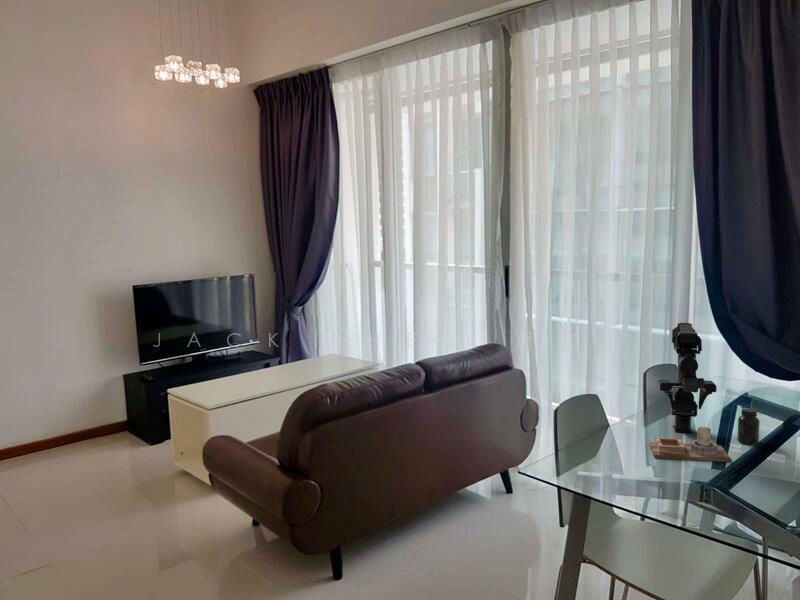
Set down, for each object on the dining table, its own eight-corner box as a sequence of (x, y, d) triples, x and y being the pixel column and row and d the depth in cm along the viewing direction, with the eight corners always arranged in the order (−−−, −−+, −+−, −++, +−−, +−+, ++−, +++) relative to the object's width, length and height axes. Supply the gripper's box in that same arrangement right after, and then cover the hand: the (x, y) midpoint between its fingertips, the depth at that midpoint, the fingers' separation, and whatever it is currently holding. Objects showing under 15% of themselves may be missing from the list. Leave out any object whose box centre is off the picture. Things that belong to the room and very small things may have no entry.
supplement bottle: (761, 445, 220) (763, 413, 218) (740, 445, 221) (742, 412, 220) (754, 438, 227) (756, 407, 225) (734, 438, 228) (735, 406, 226)
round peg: (696, 448, 217) (696, 426, 216) (708, 448, 216) (709, 426, 215) (698, 452, 213) (699, 430, 212) (711, 453, 212) (712, 431, 211)
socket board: (648, 445, 225) (649, 435, 224) (720, 448, 219) (721, 438, 218) (654, 458, 213) (654, 447, 212) (730, 461, 207) (730, 451, 207)
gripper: (663, 372, 216) (662, 414, 218) (721, 373, 211) (720, 416, 214) (657, 364, 227) (657, 405, 229) (713, 365, 222) (711, 406, 224)
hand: (685, 408), depth 224 cm, fingers open, 9 cm apart
